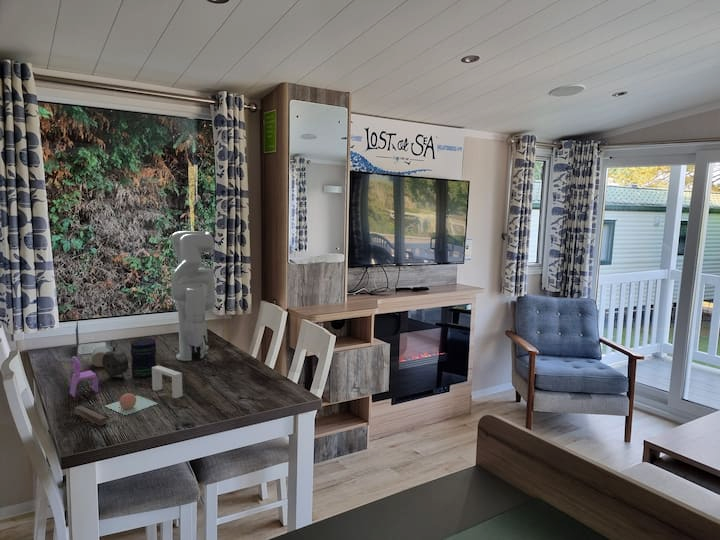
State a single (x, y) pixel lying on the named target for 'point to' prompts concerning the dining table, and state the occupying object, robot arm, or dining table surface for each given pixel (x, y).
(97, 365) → the ceramic mug
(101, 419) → the brown wooden bar
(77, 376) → the toy chair
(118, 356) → the alarm clock
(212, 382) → the dining table surface
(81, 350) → the laptop
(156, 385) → the bridge
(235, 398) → the dining table surface
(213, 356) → the dining table surface
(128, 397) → the ball
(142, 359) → the storage jar
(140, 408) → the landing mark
